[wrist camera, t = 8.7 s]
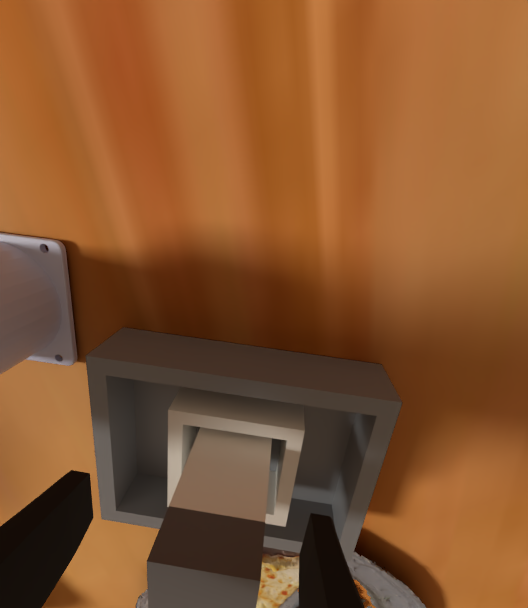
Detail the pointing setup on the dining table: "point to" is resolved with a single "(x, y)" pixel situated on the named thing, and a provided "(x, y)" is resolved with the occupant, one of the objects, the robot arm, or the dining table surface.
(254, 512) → the block
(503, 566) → the dining table surface
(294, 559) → the food plate
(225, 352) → the caddy
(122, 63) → the dining table surface
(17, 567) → the robot arm
